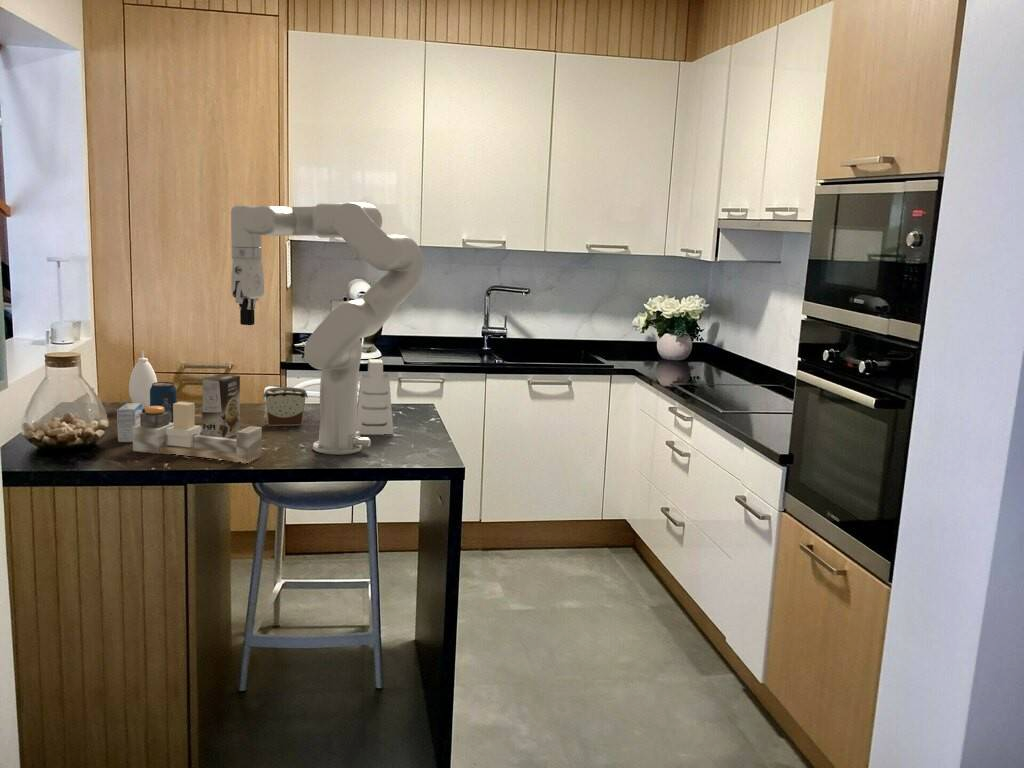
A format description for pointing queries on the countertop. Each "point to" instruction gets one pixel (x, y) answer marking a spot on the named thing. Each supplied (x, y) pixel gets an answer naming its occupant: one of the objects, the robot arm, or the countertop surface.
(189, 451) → the slide rail
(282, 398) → the food container
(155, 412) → the button
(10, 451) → the countertop surface
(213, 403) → the coffee box
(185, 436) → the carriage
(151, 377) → the sauce bottle
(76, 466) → the countertop surface
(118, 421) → the medicine box
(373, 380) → the grater
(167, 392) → the soda can
